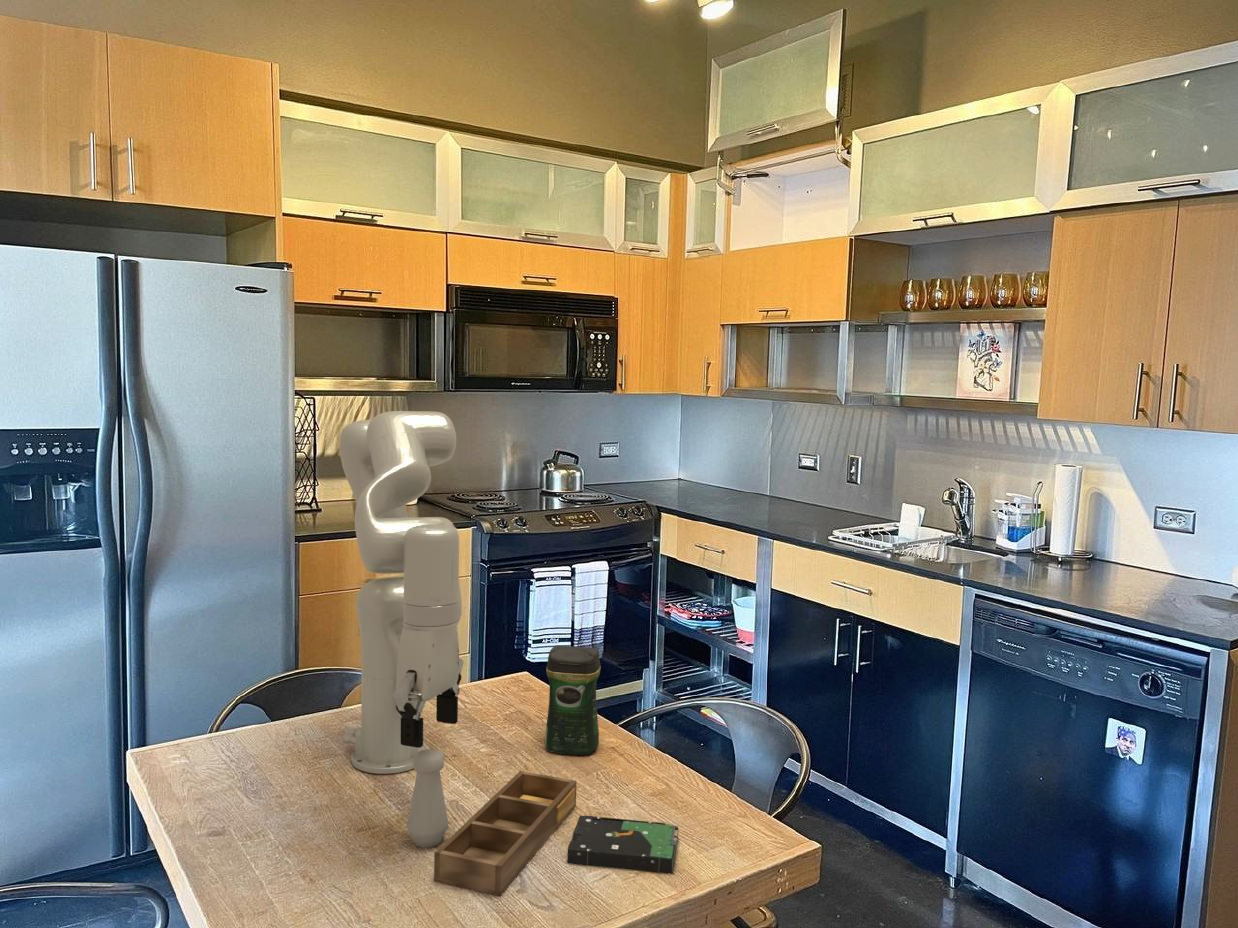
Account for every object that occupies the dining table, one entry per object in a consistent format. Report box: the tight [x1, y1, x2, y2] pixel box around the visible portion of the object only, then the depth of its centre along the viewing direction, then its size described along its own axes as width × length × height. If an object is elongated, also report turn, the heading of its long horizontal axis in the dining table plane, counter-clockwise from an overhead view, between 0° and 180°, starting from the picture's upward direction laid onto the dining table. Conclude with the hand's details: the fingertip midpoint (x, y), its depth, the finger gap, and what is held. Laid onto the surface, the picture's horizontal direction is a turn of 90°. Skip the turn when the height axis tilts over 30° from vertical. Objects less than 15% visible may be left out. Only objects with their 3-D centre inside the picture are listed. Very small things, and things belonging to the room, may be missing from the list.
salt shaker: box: [406, 748, 449, 849], centre depth 132 cm, size 6×6×13 cm
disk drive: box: [566, 815, 679, 875], centre depth 131 cm, size 10×3×15 cm
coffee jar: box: [544, 644, 601, 756], centre depth 166 cm, size 10×8×19 cm
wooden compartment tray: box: [433, 770, 578, 897], centre depth 133 cm, size 10×27×4 cm, turn 162°
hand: (430, 733), depth 130 cm, fingers open, 9 cm apart
